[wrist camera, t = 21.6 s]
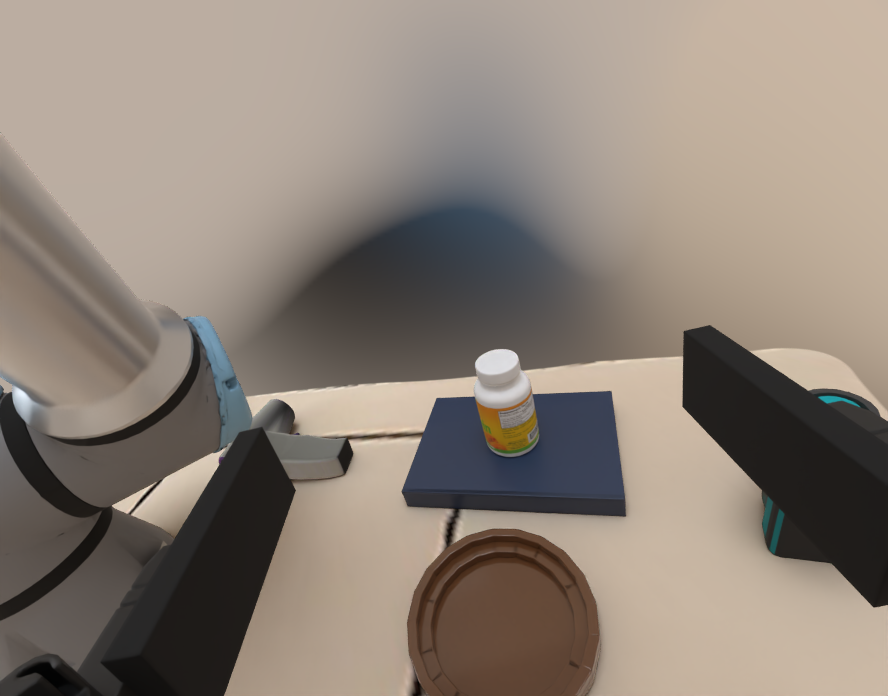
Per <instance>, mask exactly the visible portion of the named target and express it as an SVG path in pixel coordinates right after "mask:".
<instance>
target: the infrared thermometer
mask: <svg viewBox="0 0 888 696" xmlns="http://www.w3.org/2000/svg"><path fill="white" fill-rule="evenodd" d="M294 419H295V414H294V411H293V410H292V408H291V407H290V406H289V405H288V404H286V403H285V402H283V401H281V400H278V399H273V400H270V401H269V402H268V403H267V404H266V405H265V406H264V407H263V408H262V409H261V410H260V411H259V412H258V413H257V414H256V415H255V416H254V417H253V418H252V424H251V427H250V429H249V430H251V429H255V428H259V427H263V429H264V431H265V433H266V435H267V437H268V439H269V440H270V442H271V444H272V446H273V448H274V450H275V452H276V454H277V456H278V458H279V459H280V461H281V463H282V465H283V467H284V469H285V471H286V473H287V475H288V477H289V478H290V479H323V478H331V477H336V476H340V475H343V474H345V473H346V471H347V469H348V466H349V464H350V461H351V459H352V456H353V451H352V448H351V446H350V443H349V441H348V439H347V438H342V439H327V438H321V437H316V436H310V435H300V434H299V433H296V434H293V435H291V434H290V431H291V428H292V425H293V422H294ZM233 442H234V441H232V442H231V443H230V444H229V445H228V447H227V448H226V449H225V451H224V452H223V453H222V455H221V456H220V457H219V464H220V463H221V461H222V460H223V458H224V456H225V455H226V453H227V451H228V450H229V448H230V447H231V445H232V443H233Z"/></svg>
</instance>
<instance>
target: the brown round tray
mask: <svg viewBox="0 0 888 696" xmlns="http://www.w3.org/2000/svg"><path fill="white" fill-rule="evenodd" d="M407 628H408V648H409V656H410V658H411V661H412V664H413V667H414V669H415V672H416V675H417V677H418V680H419V683H420V685H421V687H422V688H423V690H424V692H425V693H426V695H427V696H586V694H587V692H588V691H589V689H590V688H591V686H592V684H593V681H594V678H595V674H596V669H597V664H598V659H599V654H600V650H601V643H600V633H599V624H598V614H597V605H596V601H595V599H594V597H593V594H592V592H591V590H590V587H589V585H588V583H587V580H586V578H585V576H584V574H583V573H582V571H581V570H580V569H579V568H578V567H577V565H576V564H575V563H574V562H573V561H572V560H571V558H570V557H569V556H568V555H567V554H566V552H564V551H563V550H562V549H560V548H558V547H557V546H555V545H554V544H552V543H551V542H549V541H548V540H546V539H545V538H543V537H541V536H538V535H535V534H532V533H528V532H525V531H522V530H517V529H490V530H486V531H482V532H479V533H475V534H471V535H468V536H466V537H464V538H462V539H461V540H459V541H457V542H456V543H454V544H452V545H451V546H449V547H447V548H446V549H445V550H444V551H443V552H442V553H441V554H440V555H439V556H438V557H437V558H436V559H435V560H434V562H433V563H432V564H431V565H430V566H429V567H428V568H427V569H426V571H425V573H424V575H423V577H422V578H421V580H420V582H419V584H418V586H417V588H416V589H415V591H414V595H413V599H412V603H411V608H410V612H409V616H408V622H407Z"/></svg>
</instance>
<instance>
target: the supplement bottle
mask: <svg viewBox="0 0 888 696" xmlns="http://www.w3.org/2000/svg"><path fill="white" fill-rule="evenodd" d="M475 368H476V373H477V376H478V379H477V381H476V382H475V385H474V395H475V400H476V403H477V407H478V411H479V415H480V419H481V423H482V427H483V431H484V434H485V438H486V442H487V445H488V447H489V448H490V449H491V450H492V451H493V452H494V453H496V454H498V455H501V456H505V457H516V456H520V455H523V454H525V453H527V452H529V451H530V450H531V449H533V448H534V447H535V445H536V444H537V442H538V439H539V429H538V423H537V417H536V411H535V406H534V400H533V394H532V388H531V383H530V380H529V378H528V376H527V375H526V373H524V372H523V371H522V370H520V363H519V359H518V356H517V355H516V353H514V352H513V351H510V350H505V349H497V350H492V351H489V352H487V353H485V354H483V355H482V356H480V357H479V358H478V360H477V361H476V363H475Z"/></svg>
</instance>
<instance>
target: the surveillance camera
mask: <svg viewBox="0 0 888 696" xmlns="http://www.w3.org/2000/svg"><path fill="white" fill-rule="evenodd" d="M809 392H811V393H812V394H814V395H815V396H817V397H818V398H820V399H821V400H822V401H824V402H825V403H832V402H837V401H841V400H842V401H845V402H847V403H850V404H853V405H855V406H858V407H861V408H864V409H866V410H869V411H872V412H873V413H875V414H877V415H878V416H880V414H879V411H878V409H877V408H876V407H875V406H874V405H873V404H872V403H871V402H869V401H867V400H866V399H864V398H862V397H861V396H858V395H855V394H853V393H850V392H846V391H841V390H837V389H813V390H810V391H809ZM762 500H763V503H764V506H765V512H764V517H763V522H762V526H763V530H764V535H765V540H766V544H767V547H768V549H769V550H770V551H771V552H772V553H773V554H774V555H777V556H780V557H786V558H794V559H803V560H811V561H819V562H828V563H831V562H830V561H829V560H828V559H827V558H826V557H825V556H824V555H823V554H822V553H821V552H820V551H819V550H818V548H817V547H816V546H815V545H814V544H813V543H812V542H811V541H810V540H809V539H808V538H807V537H806V536H805V535H804V534H803V533H802V532H801V531H800V530H799V529H798V527H797V526H796V525H795V524H794V523H793V522H792V521H791V520H790V519H789V518H788V517H787V516H786V515H785V514H784V513H783V512H782V511H781V510H780V509H779V508H778V506H777V505H776V504H775V503H774V502H773V501H772V500H771V499H770V498H769V497H768V496H767V495H766V494H765V493H764V492H763V491H762Z"/></svg>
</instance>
